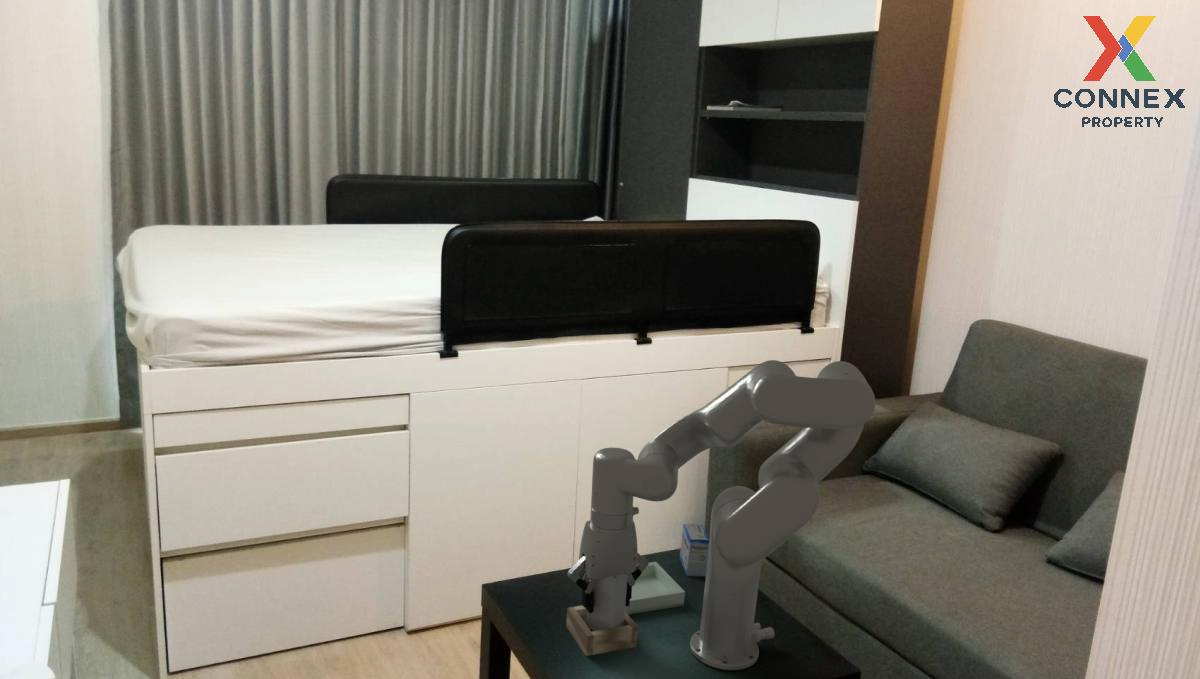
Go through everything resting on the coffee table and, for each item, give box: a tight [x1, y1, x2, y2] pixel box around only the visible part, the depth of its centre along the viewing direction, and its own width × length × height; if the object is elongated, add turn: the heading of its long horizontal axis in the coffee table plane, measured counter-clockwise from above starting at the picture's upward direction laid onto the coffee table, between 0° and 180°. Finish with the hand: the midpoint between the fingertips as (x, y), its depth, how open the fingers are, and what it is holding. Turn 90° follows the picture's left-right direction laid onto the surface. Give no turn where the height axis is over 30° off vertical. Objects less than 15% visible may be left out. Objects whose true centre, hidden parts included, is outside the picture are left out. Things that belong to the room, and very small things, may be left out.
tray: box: [625, 561, 686, 616], centre depth 186 cm, size 13×13×3 cm
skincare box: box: [586, 574, 628, 631], centre depth 168 cm, size 6×4×12 cm
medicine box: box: [679, 523, 710, 577], centre depth 198 cm, size 8×4×9 cm, turn 6°
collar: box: [565, 604, 639, 657], centre depth 170 cm, size 10×10×4 cm
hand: (606, 605), depth 168 cm, fingers closed on skincare box, 6 cm apart
